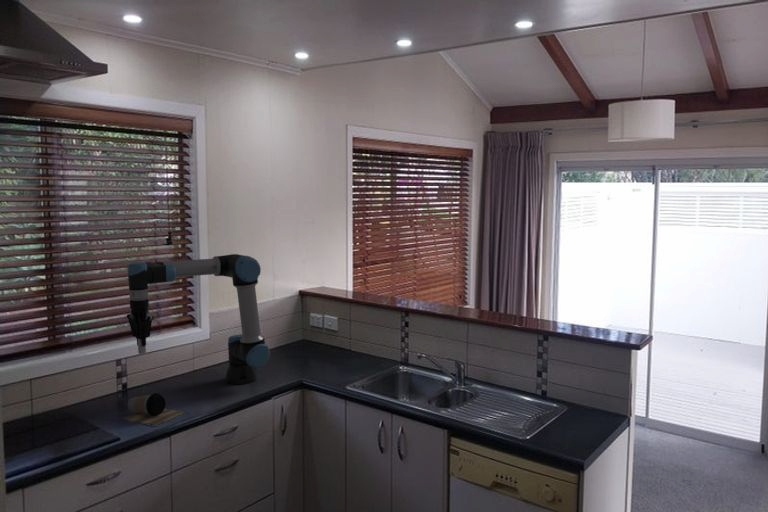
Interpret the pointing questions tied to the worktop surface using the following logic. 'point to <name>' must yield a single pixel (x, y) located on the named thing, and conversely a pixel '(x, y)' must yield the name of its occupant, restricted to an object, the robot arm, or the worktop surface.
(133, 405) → the coffee cup
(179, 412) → the brown striped mat
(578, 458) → the worktop surface
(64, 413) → the worktop surface
